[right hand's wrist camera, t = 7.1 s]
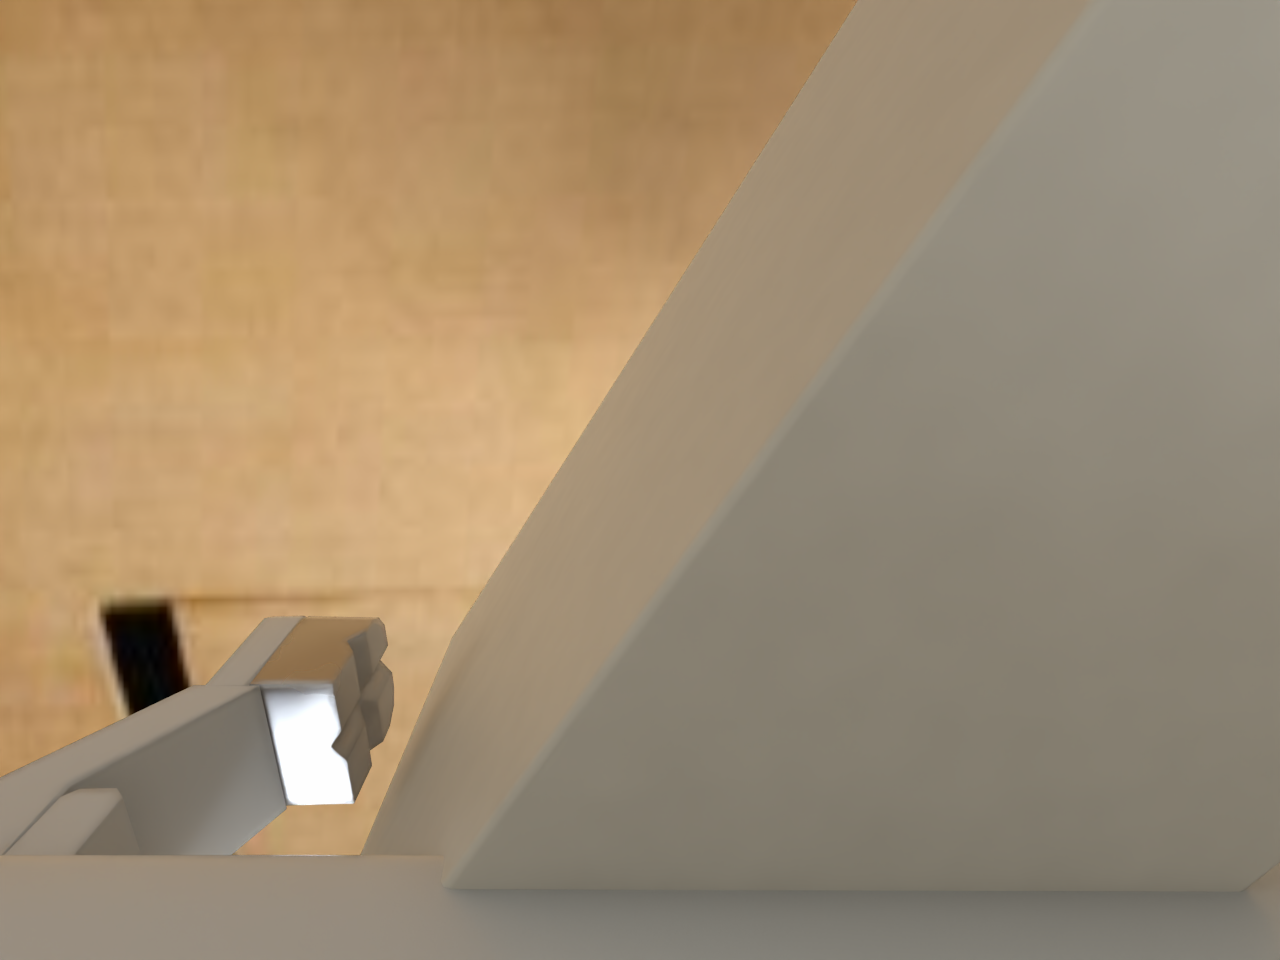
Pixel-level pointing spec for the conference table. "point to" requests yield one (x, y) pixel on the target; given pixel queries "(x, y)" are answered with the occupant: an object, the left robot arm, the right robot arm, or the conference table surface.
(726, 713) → the bar
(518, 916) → the right robot arm
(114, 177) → the conference table surface
